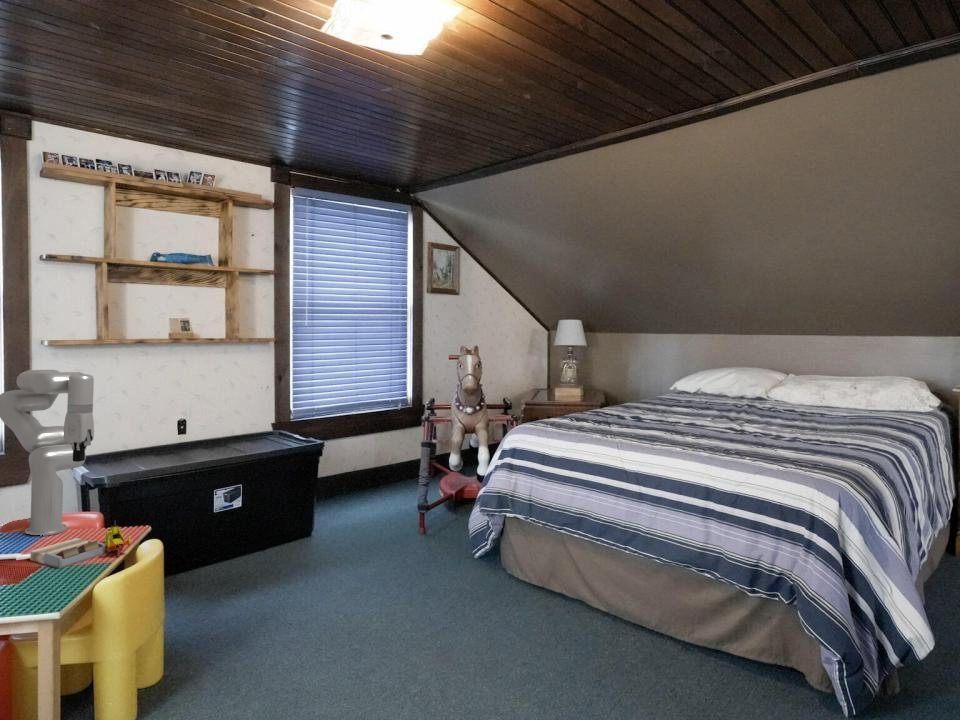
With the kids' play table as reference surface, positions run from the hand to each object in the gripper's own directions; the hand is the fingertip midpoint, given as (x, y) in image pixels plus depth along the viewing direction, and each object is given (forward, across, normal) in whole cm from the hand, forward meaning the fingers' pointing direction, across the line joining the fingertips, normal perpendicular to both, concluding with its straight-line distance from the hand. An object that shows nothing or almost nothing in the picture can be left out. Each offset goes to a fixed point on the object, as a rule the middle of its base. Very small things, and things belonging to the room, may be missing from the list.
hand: (78, 460), depth 214 cm
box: (+29, +15, -10) cm, 34 cm away
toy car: (+29, +17, +2) cm, 34 cm away
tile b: (+25, +15, -13) cm, 32 cm away
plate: (+29, +8, -10) cm, 32 cm away
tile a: (+25, +15, -6) cm, 30 cm away
